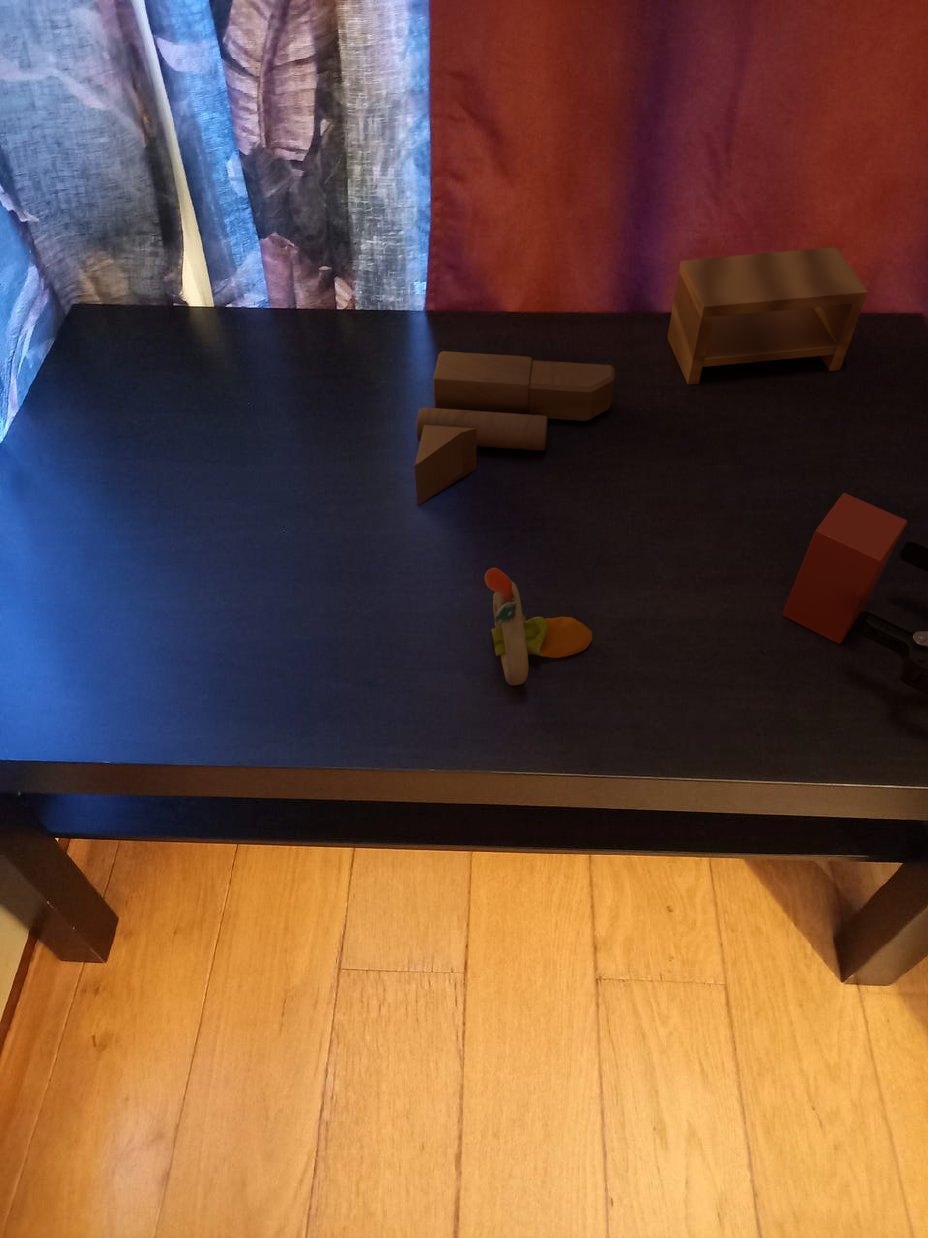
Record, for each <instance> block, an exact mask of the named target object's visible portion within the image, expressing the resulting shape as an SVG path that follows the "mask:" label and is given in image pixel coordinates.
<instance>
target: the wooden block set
mask: <svg viewBox="0 0 928 1238" xmlns="http://www.w3.org/2000/svg"><path fill="white" fill-rule="evenodd" d="M615 370H616V368H615V367H614V366H613V365H612V364H598V363H597V364H596V363H584V362H583V363H581V362H566V361H550V360H533V359H532V357H531V356H526V355H509V354H492V353H477V352H463V351H462V352H459V351H445V350H443V351H440V352H439V354H438V356H437V360H436V366H435V368H434V374H433V377H432V383H433V384H432V385H433V407H425V406H423V407H420V408H419V410H418V413H417V417H416V418H417V419H416V438H417V441H418V442H419V444H418V449H417V453H416V459H415V463H414V474H415V476H414V477H415V478H414V479H415V490H416V491H415V492H416V503H417V506H420V505H422V503H424V502H426V501H427V500H428V499H430V498H432V497H433V496H435V495H437V494H438V493H440V492H442V491H443V490H445V489H447V488H448V487H449V486H451V485H452V484H454V483H456V482H457V481H459V480H461V479H463V478H464V477H465V476H467V475H469V474H470V473H472V472H473V471H475V470H477V468H478V467H477V465H478V464H477V463H478V461H477V459H478V458H477V453H478V452H477V449H478V447H485V448H496V449H497V448H499V449H500V448H501V449H513V450H514V449H515V450H527V451H541V452H542V451H545V449H546V448H547V447H546V445H547V438H548V437H547V436H548V423H549V419H550V420H565V421H575V422H576V421H577V422H579V421H580V422H587V421H590V420H591V419H594V418H595V417H597V416H599V415H600V414H603V413H604V412H606V411H608V410H609V409H610V408H611V405H612V397H613V390H614V382H615Z"/></svg>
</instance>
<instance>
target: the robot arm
mask: <svg viewBox="0 0 928 1238" xmlns="http://www.w3.org/2000/svg"><path fill="white" fill-rule="evenodd" d="M899 558H900V560H901V561H903V562H905V563H907V564H909V565H912V566H914V567H916V568H918V569H921V570H922V571H925V572H927V573H928V538H926V537H921V536H920V537H919V536H916V535H911V536H909V538H908V539H907V541H906V543H905V544H904V546H903V548H902V550H901V552H900V554H899ZM854 627H855V628H856V629H857V630H858V631H859V633H860V634H861V635H862V636H863V637H864V638H866V639H868V640H870V641H873V642H875V643H877V644H879V645H880V646H882V647H884V648H887V649H888V650H890V651H892V652H895V653H896V654H898V655H899V656H900V657H901V660H902V672H901V673H900V676H899V677H900V681H901V682H902V683H903V684H904V685H906V686H908V687H911V688H913V689H915V690H917V691H919V692H921V693H923V694H925V695H928V631H926V630H925V631H916V632H914V631H915V629H916V628H917V626H915V625H913V624H911V623H909V622H907V621H906V620H903V619H901V618H899V617H897V616H895V615H893V614H891V613H889V612H887V611H885V610H882V609H880V608H879V607H877V606H874V605H872V604H866V605H865V606H864V608H863V609H862V611H861V612H860V614H859V616H858V617H857V619H856V620H855V622H854Z"/></svg>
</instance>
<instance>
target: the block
mask: <svg viewBox="0 0 928 1238" xmlns="http://www.w3.org/2000/svg"><path fill="white" fill-rule="evenodd" d="M907 523H908V520H907V519H904V518H902V517H900V516H898V515H896V514H894V513H891V512H888V510H887V511H886V510H884V509H882V508H881V507H877V506H875V505H873V504H871V503H868V502H866V501H864V500H862V499H859V498H858V497H855V496H853V495H850V494H848V493H846V492H843V493H842V494H841V495H840V496H839V498H838V500H837V501H836V502H835V504H834V505H833V506H832V508H831V509H830V510H829V512H828V513H827V514H826V515H825V517H824V518H823V520H822V521H821V522H820V524H819V525H818V526H817V528H816V529H815V531H814V533H813V536H812V538H811V541H810V543H809V546H808V548H807V551H806V553H805V556H804V558H803V561H802V563H801V565H800V568H799V571H798V573H797V575H796V578H795V581H794V583H793V586H792V588H791V591H790V593H789V596H788V598H787V601H786V603H785V606H784V608H783V611H782V613H781V615H782V616H783V617H785V618H787V619H789V620H791V621H792V622H795V623H797V624H798V625H800V626H802V627H805V628H806V629H808V630H811V631H812V632H814V633H816V634H818V635H820V636H822V637H824V638H826V639H828V640H830V641H831V642H833V643H836V644H838V645H840V644H841V643H842V642H843V640H844V639H845V637H846V635H847V634H848V632H849V631H850V630H851V628H852V627H853V625H854V624H855V622H856V620H857V618H858V616H859V614H860V612H861V611H862V609H863V608H864V606H865V605H867V603H868V602H869V601H868V600H869V599H870V597H871V595H872V593H873V591H874V589H875V587H876V585H877V583H878V581H879V579H880V577H881V576H882V574H883V571H884V569H885V567H886V565H887V563H888V561H889V559H890V557H891V555H892V553H893V551H894V550H895V547H896V546H897V543H898V541H899V539H900V537H901V535H902V533H903V532H904V530H905V528H906V526H907Z"/></svg>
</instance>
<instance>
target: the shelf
mask: <svg viewBox="0 0 928 1238" xmlns="http://www.w3.org/2000/svg"><path fill="white" fill-rule="evenodd" d="M868 294H869V291H868V289H867V288H866V287H865V285H864V284H863V282H862V281H861V279H860V277H859V276H858V274H857V273H856V272H855V271H854V270H853V268H852V266H851V265H850V263H849V262H848V260H847V259H846V257H844V255H843V253H842V252H841V251H840V249H839V248H838V246H834V247H821V248H808V249H798V250H787V251H786V250H785V251H776V252H765V253H752V254H751V253H750V254H740V255H730V256H717V257H716V256H715V257H706V258H695V259H694V258H693V259H684V260H680V263H679V270H678V275H677V281H676V287H675V291H674V297H673V298H674V299H673V304H672V308H671V309H672V310H671V315H670V319H669V326H668V331H667V338H666V339H667V341H668V343H669V345H670V348H671V349H672V352H673V354H674V358H675V359H676V361H677V363H678V366H679V368H680V370H681V373H682V375H683V378H684V380H685V382H686V384H687V385H689V386H690V385H698V384H700V380H701V376H702V371H703V368H706V367H707V368H708V367H718V366H728V365H737V364H738V365H739V364H749V363H760V362H767V361H768V362H769V361H770V362H771V361H781V360H791V359H800V358H801V359H802V358H813V357H820V358H821V360H822V362H823V363H824V365H825V367H826V368H827V370H828V371H829V372H830V371H831V372H833V371H840V370H841V368H842V365H843V363H844V360H845V357H846V354H847V353H848V352H847V351H848V349H849V346H850V344H851V340H852V338H853V335H854V332H855V329H856V327H857V323H858V321H859V318H860V315H861V313H862V309H863V308H864V304H865V302H866V299H867V296H868Z"/></svg>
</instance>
